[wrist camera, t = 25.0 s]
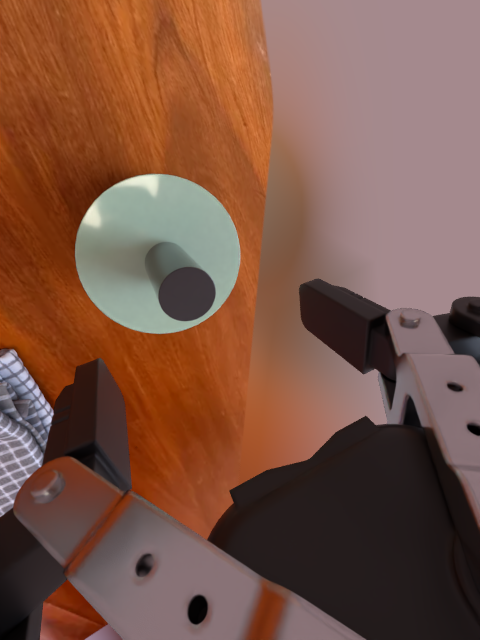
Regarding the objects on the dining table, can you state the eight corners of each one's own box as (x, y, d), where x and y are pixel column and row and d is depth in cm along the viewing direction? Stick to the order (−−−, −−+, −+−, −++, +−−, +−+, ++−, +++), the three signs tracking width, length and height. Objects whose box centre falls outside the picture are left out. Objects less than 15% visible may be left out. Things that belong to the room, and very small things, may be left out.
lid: (218, 157, 18) (270, 151, 13) (245, 300, 24) (288, 340, 19) (39, 196, 16) (1, 210, 10) (118, 347, 22) (122, 411, 16)
